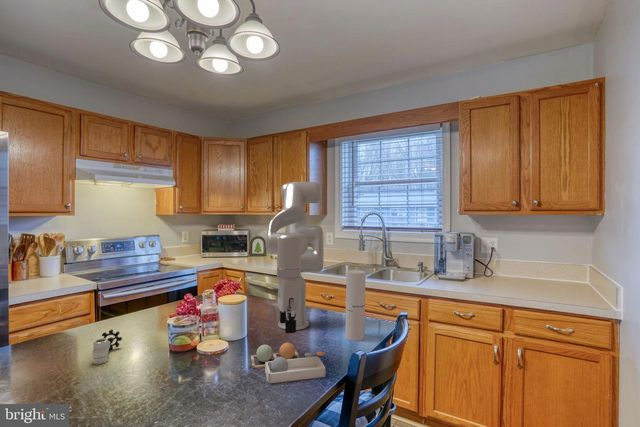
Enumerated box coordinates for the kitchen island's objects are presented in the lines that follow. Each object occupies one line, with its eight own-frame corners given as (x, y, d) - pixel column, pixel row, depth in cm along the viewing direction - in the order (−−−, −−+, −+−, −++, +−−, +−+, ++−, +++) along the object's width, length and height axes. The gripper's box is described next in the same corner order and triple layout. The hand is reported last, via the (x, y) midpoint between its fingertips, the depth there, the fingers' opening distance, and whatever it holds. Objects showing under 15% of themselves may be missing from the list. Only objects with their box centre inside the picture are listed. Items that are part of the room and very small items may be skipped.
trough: (265, 371, 97) (265, 361, 97) (318, 365, 102) (318, 356, 102) (268, 385, 90) (268, 374, 90) (325, 378, 94) (325, 367, 94)
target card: (299, 353, 111) (299, 351, 111) (325, 350, 113) (325, 348, 113) (303, 361, 105) (303, 359, 105) (330, 358, 107) (330, 356, 107)
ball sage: (255, 358, 105) (255, 342, 105) (271, 357, 106) (271, 341, 106) (256, 365, 100) (257, 349, 100) (273, 364, 102) (273, 347, 102)
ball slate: (269, 372, 96) (269, 354, 96) (286, 370, 98) (286, 353, 98) (271, 380, 91) (272, 362, 91) (289, 378, 93) (289, 360, 93)
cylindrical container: (363, 341, 121) (364, 273, 121) (344, 339, 123) (345, 272, 123) (364, 334, 128) (366, 270, 128) (346, 333, 130) (347, 269, 130)
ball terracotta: (278, 356, 107) (278, 340, 107) (293, 354, 108) (293, 339, 108) (280, 363, 102) (280, 347, 102) (296, 361, 104) (296, 345, 104)
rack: (250, 358, 106) (250, 355, 106) (296, 353, 110) (296, 350, 110) (252, 369, 98) (252, 366, 98) (301, 364, 103) (301, 361, 103)
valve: (110, 364, 101) (122, 348, 112) (110, 342, 101) (122, 328, 112) (85, 366, 99) (99, 350, 110) (85, 344, 99) (100, 330, 110)
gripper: (273, 269, 112) (271, 320, 112) (281, 278, 96) (280, 338, 95) (294, 269, 114) (293, 318, 114) (306, 277, 98) (305, 336, 97)
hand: (287, 327), depth 105 cm, fingers open, 9 cm apart
